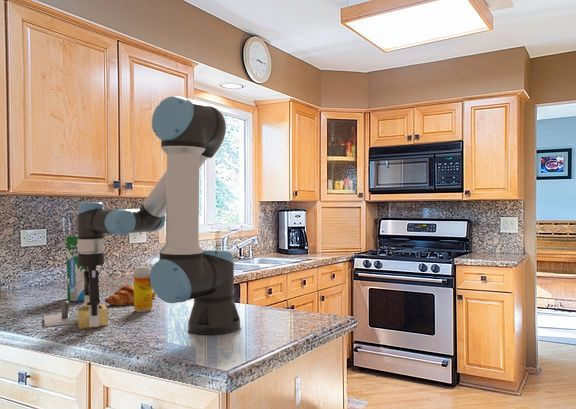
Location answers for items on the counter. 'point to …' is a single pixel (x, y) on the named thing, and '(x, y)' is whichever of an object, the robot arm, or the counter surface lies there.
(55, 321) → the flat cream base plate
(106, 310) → the yellow hollow block
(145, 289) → the yellow bottle
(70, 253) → the milk carton
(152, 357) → the counter surface
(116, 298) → the croissant
